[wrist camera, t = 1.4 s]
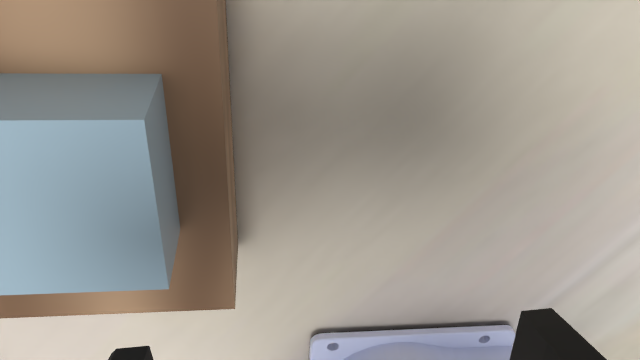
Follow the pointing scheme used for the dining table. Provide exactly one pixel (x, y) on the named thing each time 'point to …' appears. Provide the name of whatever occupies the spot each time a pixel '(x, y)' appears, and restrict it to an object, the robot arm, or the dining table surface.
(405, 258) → the dining table surface
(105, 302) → the bench board
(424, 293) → the dining table surface
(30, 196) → the pale blue block
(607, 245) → the dining table surface
